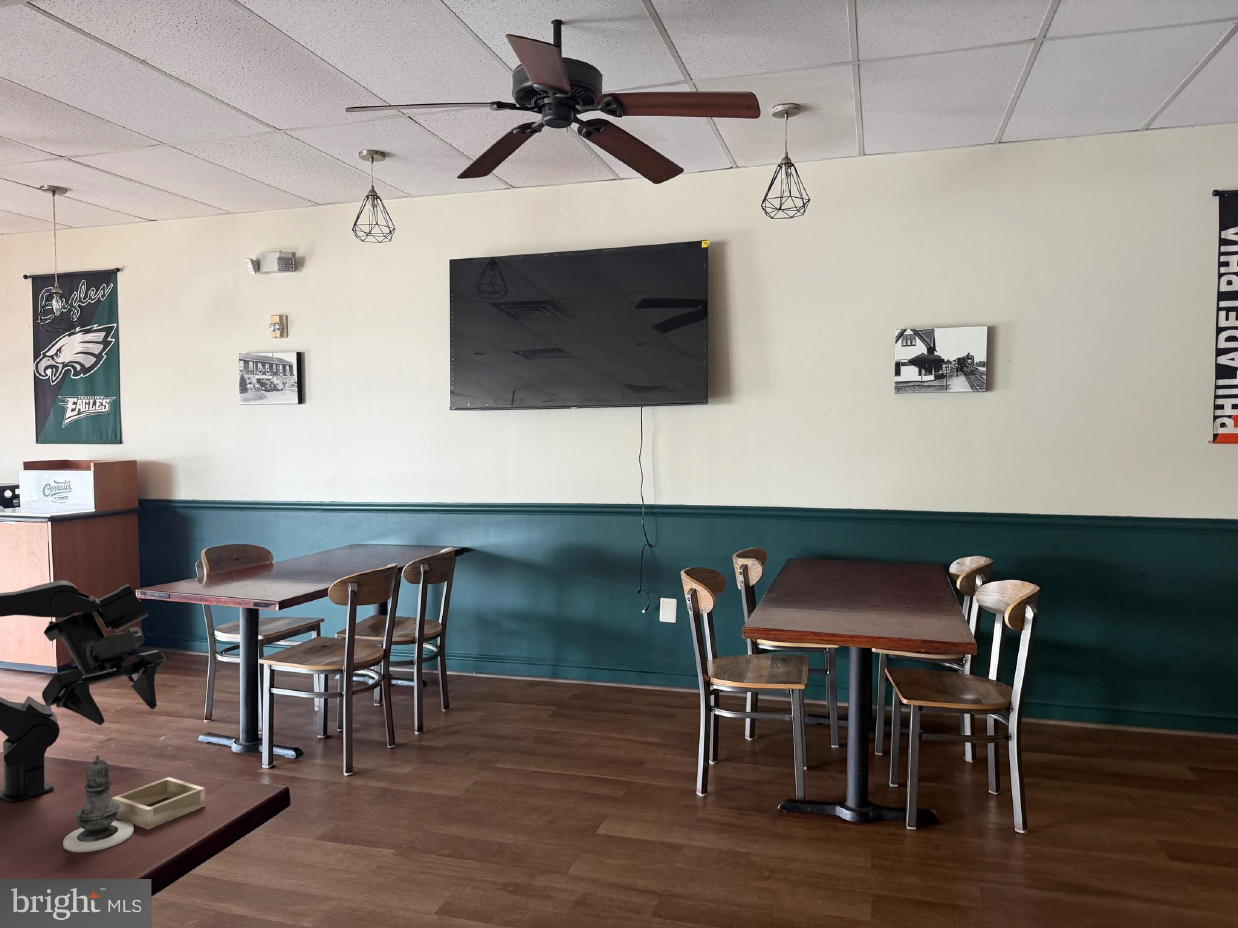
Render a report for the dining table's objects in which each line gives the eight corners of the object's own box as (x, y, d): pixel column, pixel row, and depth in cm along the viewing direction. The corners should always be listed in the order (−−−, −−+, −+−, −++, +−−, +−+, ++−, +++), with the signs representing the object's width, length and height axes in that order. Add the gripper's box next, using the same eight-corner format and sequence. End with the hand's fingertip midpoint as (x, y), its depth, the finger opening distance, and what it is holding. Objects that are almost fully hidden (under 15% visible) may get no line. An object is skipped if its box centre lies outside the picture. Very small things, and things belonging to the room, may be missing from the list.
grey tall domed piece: (98, 844, 120) (97, 763, 120) (64, 840, 121) (64, 760, 121) (129, 826, 126) (129, 749, 125) (97, 823, 127) (97, 746, 127)
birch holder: (111, 816, 131) (111, 797, 131) (168, 794, 139) (168, 776, 139) (148, 829, 126) (148, 810, 126) (204, 805, 135) (204, 787, 135)
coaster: (50, 843, 121) (50, 839, 121) (111, 819, 129) (111, 815, 129) (85, 857, 117) (85, 853, 117) (146, 832, 125) (146, 828, 125)
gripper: (52, 624, 132) (95, 701, 128) (159, 605, 149) (200, 672, 145) (23, 667, 136) (64, 743, 131) (131, 644, 153) (171, 710, 148)
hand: (129, 715), depth 139 cm, fingers open, 9 cm apart
